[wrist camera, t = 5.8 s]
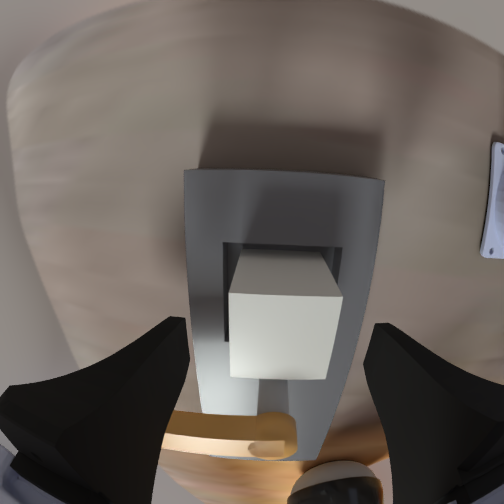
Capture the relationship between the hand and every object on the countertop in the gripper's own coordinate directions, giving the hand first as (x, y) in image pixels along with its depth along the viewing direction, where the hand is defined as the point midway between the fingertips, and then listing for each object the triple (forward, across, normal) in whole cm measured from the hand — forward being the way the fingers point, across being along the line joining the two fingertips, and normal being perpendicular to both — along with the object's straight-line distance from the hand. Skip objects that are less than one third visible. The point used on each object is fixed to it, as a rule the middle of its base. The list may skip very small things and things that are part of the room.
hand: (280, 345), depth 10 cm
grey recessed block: (+6, 0, +5) cm, 8 cm away
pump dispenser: (+6, -8, +24) cm, 26 cm away
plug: (+5, 0, 0) cm, 5 cm away
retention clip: (0, +3, +5) cm, 6 cm away
